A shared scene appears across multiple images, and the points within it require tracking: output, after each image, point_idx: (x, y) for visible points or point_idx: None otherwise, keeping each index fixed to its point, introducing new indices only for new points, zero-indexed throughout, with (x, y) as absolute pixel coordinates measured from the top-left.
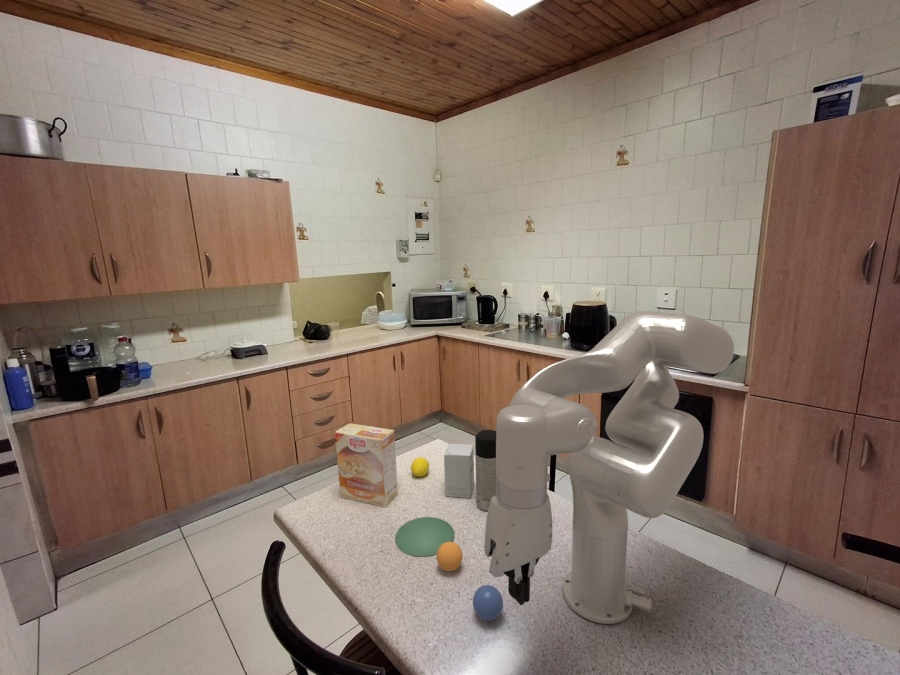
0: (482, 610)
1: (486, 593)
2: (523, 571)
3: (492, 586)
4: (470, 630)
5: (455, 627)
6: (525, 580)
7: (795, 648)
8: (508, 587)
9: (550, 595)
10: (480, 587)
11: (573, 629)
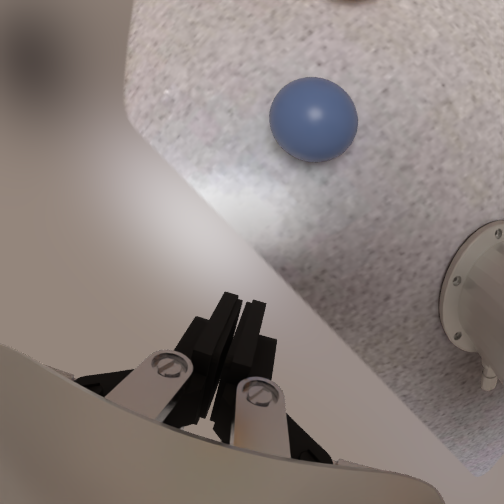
0: (272, 131)
1: (301, 118)
2: (218, 427)
3: (341, 112)
4: (250, 121)
5: (231, 93)
6: (211, 420)
7: (479, 452)
8: (190, 324)
9: (456, 211)
10: (312, 86)
11: (406, 292)
